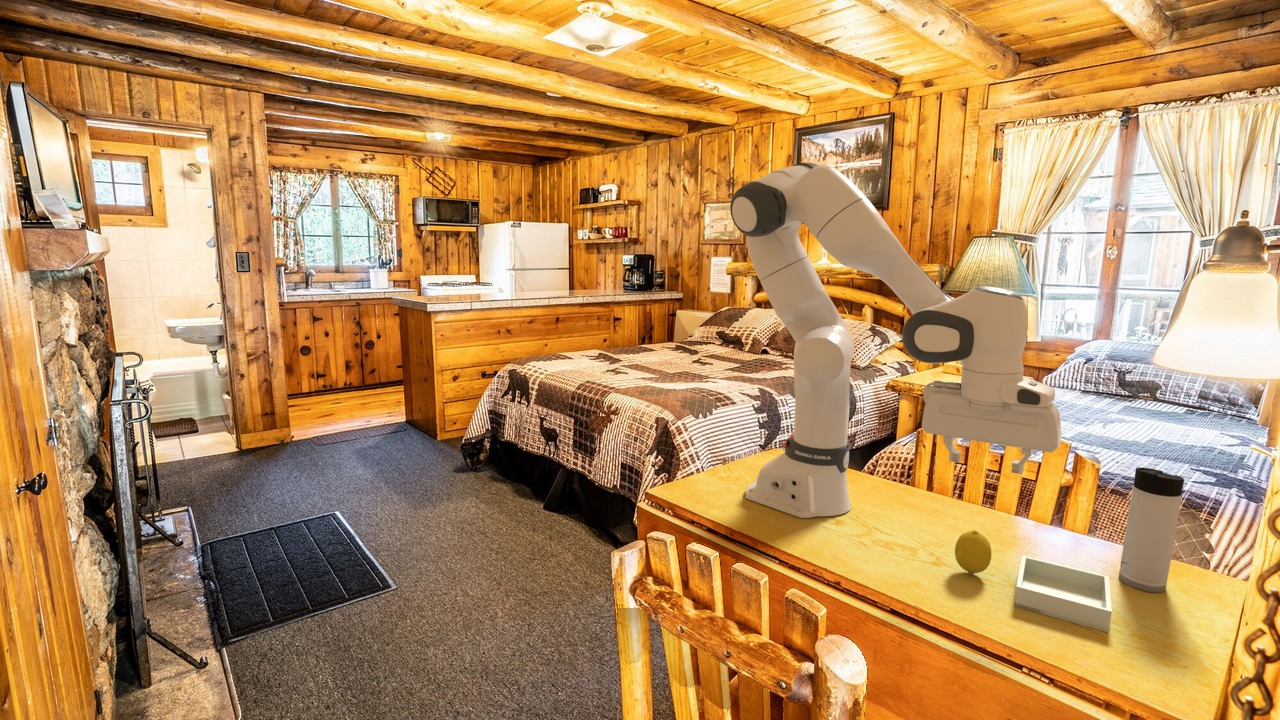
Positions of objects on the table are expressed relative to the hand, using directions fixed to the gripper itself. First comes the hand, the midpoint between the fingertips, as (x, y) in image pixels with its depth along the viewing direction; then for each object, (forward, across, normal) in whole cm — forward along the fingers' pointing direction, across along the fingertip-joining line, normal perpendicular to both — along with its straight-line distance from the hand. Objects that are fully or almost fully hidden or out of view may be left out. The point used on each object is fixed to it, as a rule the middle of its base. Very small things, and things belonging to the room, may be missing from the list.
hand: (985, 466), depth 106 cm
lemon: (+19, -1, -1) cm, 19 cm away
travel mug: (+20, +22, +14) cm, 33 cm away
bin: (+20, +12, -1) cm, 23 cm away
